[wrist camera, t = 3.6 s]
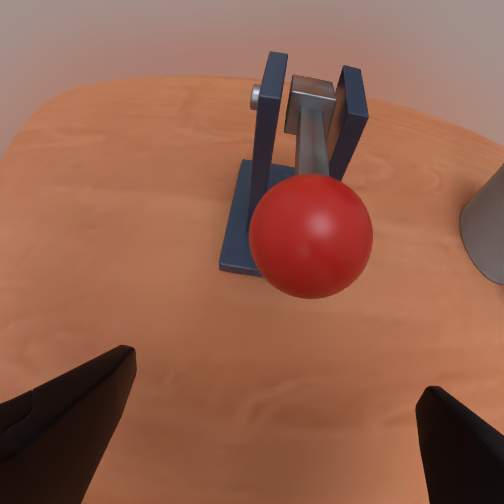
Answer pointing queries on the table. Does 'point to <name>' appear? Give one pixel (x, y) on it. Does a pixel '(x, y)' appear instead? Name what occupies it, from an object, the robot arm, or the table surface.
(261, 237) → the lever
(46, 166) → the table surface
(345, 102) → the lever stand
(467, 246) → the coffee mug
